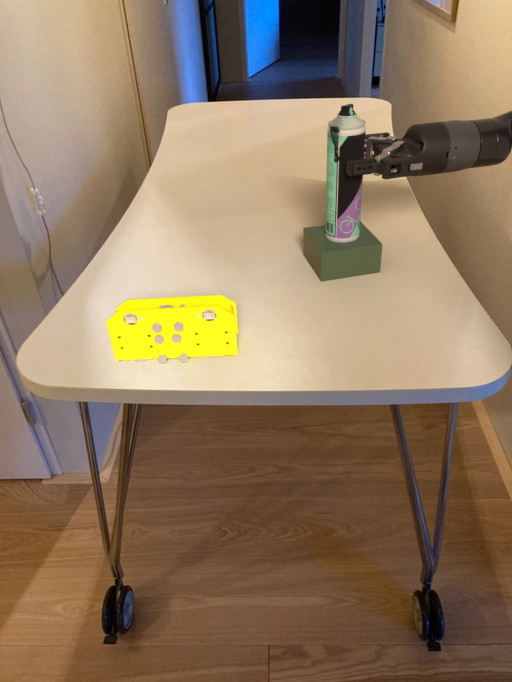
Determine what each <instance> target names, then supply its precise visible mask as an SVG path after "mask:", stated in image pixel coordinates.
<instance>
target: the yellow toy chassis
mask: <svg viewBox="0 0 512 682" xmlns="http://www.w3.org/2000/svg"><path fill="white" fill-rule="evenodd" d="M238 322H239V320H238V309H237V302H235V301H234V300H232V299H230V298H228V297H226V296H224V295H222V294H211V295H209V294H208V295H188V296H171V297H170V296H169V297H151V298H150V297H148V298H147V297H146V298H130V299H126V300H125V301H124V302H122V303H121V304H120V305H118V306H117V307H116V308H115V313H113V314H112V316H110V317H109V318H108V319H107V320H106V321H105V324H106V328H107V332H108V335H109V340H110V343H111V347H112V351H113V352H112V353H113V354H114V359H115V361H134V362H139V363H142V362H148V361H150V360H155V359H157V361H158V362H159V363H160V364H166V363H167V362H168V359H177V358H178V360H179V361H180V362H181V363H187V362H188V361H189V358H199V357H200V358H201V357H207V358H209V359H220V358H222V357H225V356H238V355H239V351H238V336H237V335H240V333H239V332H240V331H239V323H238Z"/></svg>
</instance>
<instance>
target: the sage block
mask: <svg viewBox="0 0 512 682" xmlns="http://www.w3.org/2000/svg"><path fill="white" fill-rule="evenodd" d="M325 228H326V224H322V225H315V226H307V227H302V230H303V231H302V245H303V246H302V248H303V249H302V254H303V256H304V258H305V259H306V261H307V263H308V264H309V265H310V267H311V269H312V271H314V273H315V274H316V276H317V278H318V279H319V281H320V282H327V281H332V280H339V279H345V278H352V277H359V276H365V275H370V274H378V273H381V266H382V255H383V253H382V252H383V243H382V242H381V241H380V240H379V239H378V238H377V237H376V235H374V234H373V232H371V230H370V229H369V228H368V227H367V226H366V225H365V224H364V223H363V222H362V221H361V220H360V233H359V237H358V239H356V240H354V241H351V242H344V243H341V242H334V241H331V240H329V239H327V238H326V236H325Z"/></svg>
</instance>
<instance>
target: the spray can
mask: <svg viewBox="0 0 512 682" xmlns="http://www.w3.org/2000/svg"><path fill="white" fill-rule="evenodd" d="M327 124H328V125H327V126H328V127H327V132H326V133H327V134H326V135H327V137H326V179H325V180H326V181H325V182H326V183H325V186H326V187H325V189H326V190H325V225H326V228H325V236H326V238H327V239H329V240H331V241H334V242H341V243H344V242H351V241H354V240H356V239H358V237H359V233H360V221H361V214H362V197H363V183H364V182H363V181H364V175H358V176H349V175H348V174H347V173H346V166H347V161H348V160H351V159H360V158H364V149H365V147H366V145H365V134H366V130H367V128H366V121H365V119H362V118H361V117H359V116H358V113H357V112H356V111H355V109H354V104H353V103H348V104H344V105H340V111H338V112H337V114H336V117H334V118H333V119H330V120H329V121H328V123H327Z"/></svg>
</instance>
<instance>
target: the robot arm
mask: <svg viewBox="0 0 512 682" xmlns="http://www.w3.org/2000/svg"><path fill="white" fill-rule="evenodd" d="M511 152H512V110H510V111H507V112H504V113H502V114H498V115H496V116H493V117H491V118H490V117H489V118H487V117H486V118H477V119H471V120H463V119H461V120H460V119H453V120H444V121H433V122H427V123H426V122H424V123H417V124H416V123H415V124H412V125H410V126H409V127H408V128H407V130H406V132H405V133H404V135H403V137H402V138H398V137H397V136H392V135H391V133H390V132H387V131H386V132H378V133H377V132H376V133H367V134H366V133H365V149H364V158H360V159H351V160H348V161H347V166H346V173H347V174H348V175H349V176H358V175H363V176H365V175H367V176H368V175H373V176H375V177H376V176H377V177H380V176H381V179H383V180H392V179H399V178H406V177H423V176H431V175H432V176H433V175H439V174H441V175H442V174H448V173H455V172H460V171H463V170H464V171H465V170H467V169H468V170H469V169H475V168H477V169H478V168H485V167H493V166H497V165H500V164H502V163H504V162H505V161H506V160H507V159H508V158H509V156H510V154H511Z"/></svg>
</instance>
